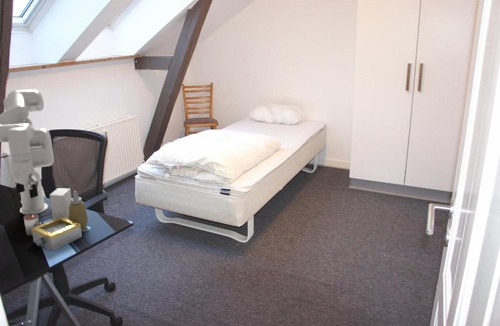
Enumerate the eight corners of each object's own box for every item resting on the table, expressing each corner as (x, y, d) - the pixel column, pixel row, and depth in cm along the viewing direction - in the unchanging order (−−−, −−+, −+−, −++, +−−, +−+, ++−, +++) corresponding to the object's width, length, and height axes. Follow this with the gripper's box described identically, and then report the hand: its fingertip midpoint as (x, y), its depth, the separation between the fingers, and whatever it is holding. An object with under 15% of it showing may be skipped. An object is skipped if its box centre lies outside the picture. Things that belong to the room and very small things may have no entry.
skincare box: (61, 217, 191) (57, 187, 186) (75, 218, 190) (71, 188, 186) (52, 225, 183) (48, 194, 178) (67, 225, 182) (62, 194, 178)
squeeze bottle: (82, 232, 177) (77, 195, 171) (66, 230, 178) (61, 193, 173) (92, 224, 184) (88, 188, 179) (76, 222, 186) (72, 187, 180)
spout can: (23, 233, 175) (20, 216, 173) (39, 226, 181) (37, 210, 179) (31, 236, 172) (28, 219, 170) (47, 229, 179) (44, 213, 176)
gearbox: (29, 244, 166) (26, 230, 164) (63, 229, 179) (61, 216, 177) (48, 252, 160) (45, 238, 158) (81, 236, 173) (80, 223, 171)
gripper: (0, 155, 166) (7, 193, 171) (24, 162, 158) (31, 202, 163) (18, 151, 172) (24, 187, 178) (42, 158, 164) (47, 196, 169)
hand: (27, 194), depth 170 cm, fingers open, 9 cm apart
